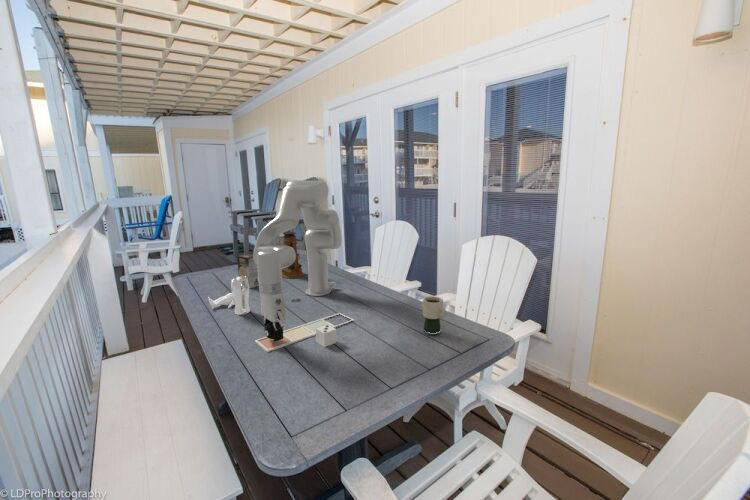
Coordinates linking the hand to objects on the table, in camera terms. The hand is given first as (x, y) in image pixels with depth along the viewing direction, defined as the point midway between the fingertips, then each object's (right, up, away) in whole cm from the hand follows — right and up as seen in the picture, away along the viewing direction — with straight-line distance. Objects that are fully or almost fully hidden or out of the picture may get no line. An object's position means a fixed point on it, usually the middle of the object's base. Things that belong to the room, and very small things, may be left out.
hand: (274, 335), depth 119 cm
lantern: (-13, +15, +80) cm, 82 cm away
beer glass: (-21, +3, +26) cm, 34 cm away
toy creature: (-32, +5, +35) cm, 47 cm away
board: (+10, 0, +9) cm, 14 cm away
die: (+18, -2, +1) cm, 18 cm away
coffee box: (-31, +11, +61) cm, 70 cm away
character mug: (+56, -1, +8) cm, 56 cm away
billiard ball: (0, -1, 0) cm, 1 cm away
